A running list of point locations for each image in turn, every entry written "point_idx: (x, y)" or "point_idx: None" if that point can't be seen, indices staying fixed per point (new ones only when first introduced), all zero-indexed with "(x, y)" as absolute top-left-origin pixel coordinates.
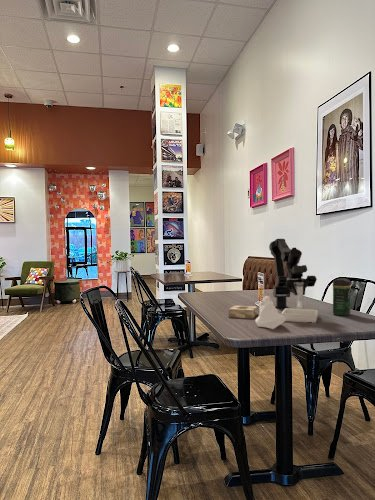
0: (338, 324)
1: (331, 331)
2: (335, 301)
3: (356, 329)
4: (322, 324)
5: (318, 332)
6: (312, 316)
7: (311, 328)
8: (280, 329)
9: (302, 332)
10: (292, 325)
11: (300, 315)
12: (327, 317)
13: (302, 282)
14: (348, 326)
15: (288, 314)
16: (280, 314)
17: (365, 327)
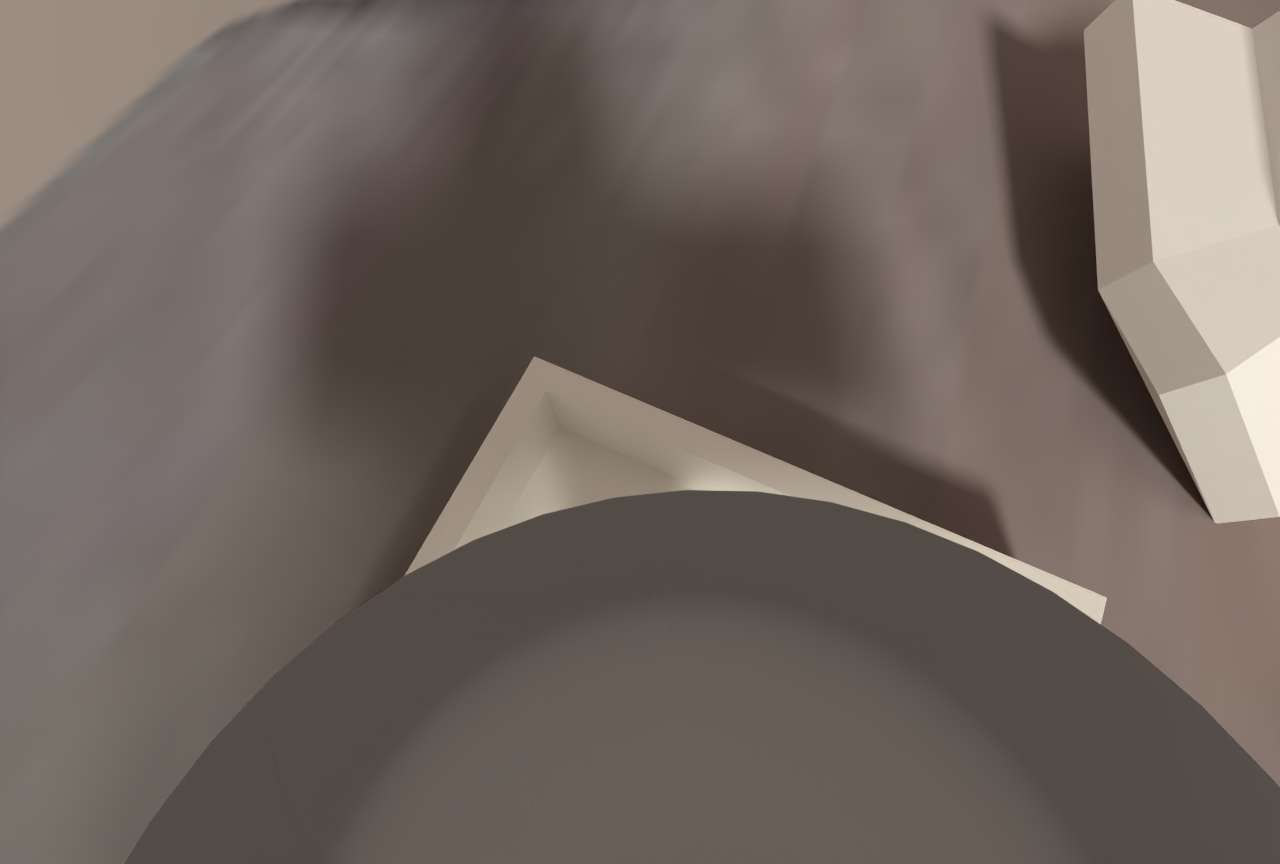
0: (312, 304)
1: (574, 42)
2: None
3: (287, 89)
4: (505, 323)
5: (715, 20)
6: (580, 381)
7: (723, 157)
8: (1085, 144)
9: (871, 29)
10: (908, 308)
11: (754, 456)
12: (133, 819)
13: (358, 822)
14: (271, 205)
15: (957, 536)
16: (1204, 13)
17: (134, 152)
